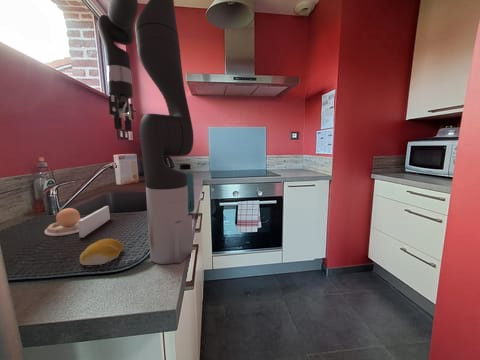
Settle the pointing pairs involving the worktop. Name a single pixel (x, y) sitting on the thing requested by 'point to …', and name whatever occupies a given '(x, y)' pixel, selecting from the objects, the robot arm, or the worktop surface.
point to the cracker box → (126, 169)
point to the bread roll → (101, 252)
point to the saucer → (61, 229)
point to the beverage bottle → (189, 186)
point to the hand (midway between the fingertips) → (123, 130)
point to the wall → (93, 221)
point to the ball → (68, 217)
